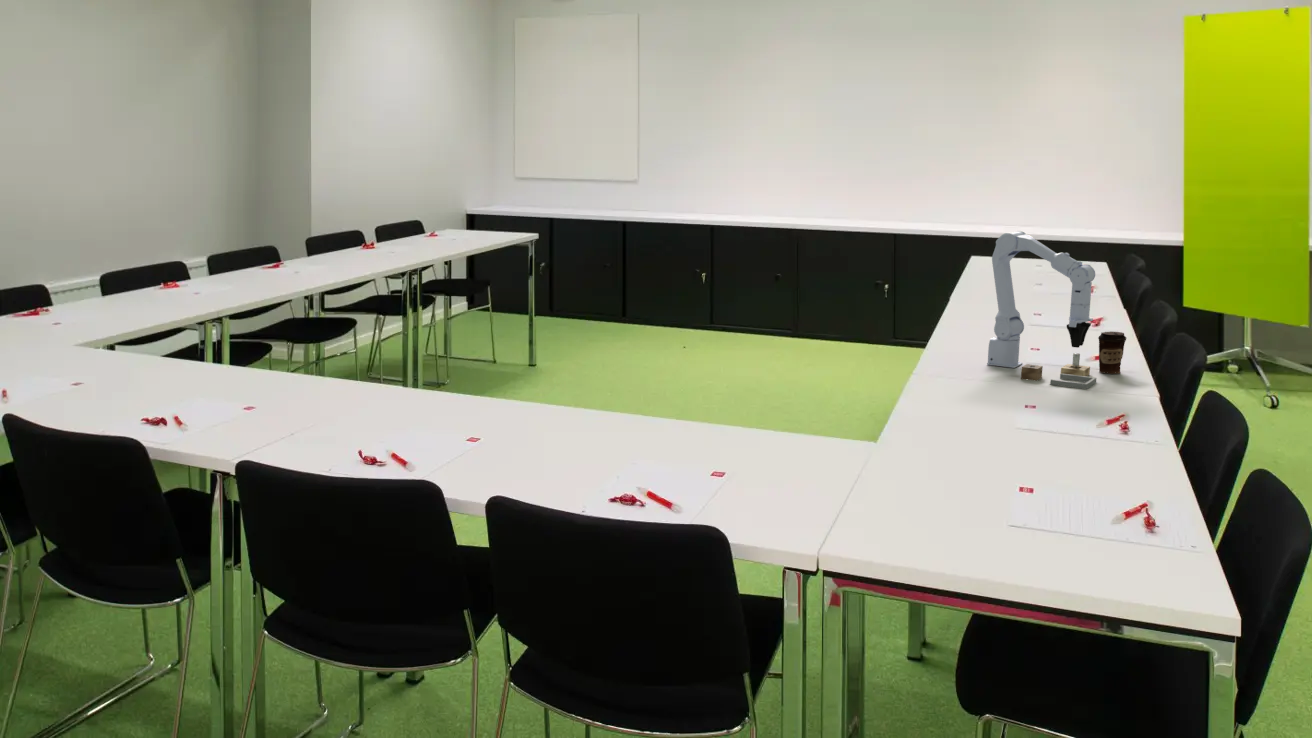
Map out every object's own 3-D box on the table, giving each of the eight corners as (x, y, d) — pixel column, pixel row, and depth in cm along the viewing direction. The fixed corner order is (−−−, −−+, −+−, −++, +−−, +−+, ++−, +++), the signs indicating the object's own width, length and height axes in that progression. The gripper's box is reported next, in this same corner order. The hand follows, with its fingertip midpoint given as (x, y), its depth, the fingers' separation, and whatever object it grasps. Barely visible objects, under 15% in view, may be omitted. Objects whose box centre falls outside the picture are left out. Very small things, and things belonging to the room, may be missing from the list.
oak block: (1060, 375, 348) (1061, 367, 347) (1067, 371, 353) (1067, 363, 352) (1083, 378, 343) (1083, 370, 343) (1089, 374, 349) (1090, 366, 348)
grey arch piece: (1050, 384, 336) (1050, 379, 336) (1060, 378, 344) (1061, 373, 344) (1086, 389, 330) (1086, 384, 329) (1096, 382, 338) (1096, 377, 338)
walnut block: (1020, 379, 344) (1021, 366, 343) (1025, 376, 348) (1026, 363, 347) (1036, 381, 341) (1037, 368, 340) (1041, 378, 345) (1042, 365, 344)
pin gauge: (1071, 375, 348) (1072, 353, 346) (1072, 374, 350) (1074, 352, 348) (1077, 376, 347) (1079, 354, 345) (1079, 374, 348) (1080, 353, 347)
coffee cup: (1126, 375, 346) (1129, 335, 344) (1098, 375, 348) (1101, 335, 345) (1120, 370, 355) (1123, 330, 352) (1093, 369, 356) (1096, 330, 354)
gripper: (1086, 308, 335) (1083, 351, 338) (1100, 301, 347) (1096, 343, 350) (1063, 306, 339) (1060, 348, 342) (1077, 300, 351) (1074, 341, 354)
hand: (1077, 346), depth 346 cm, fingers open, 3 cm apart
